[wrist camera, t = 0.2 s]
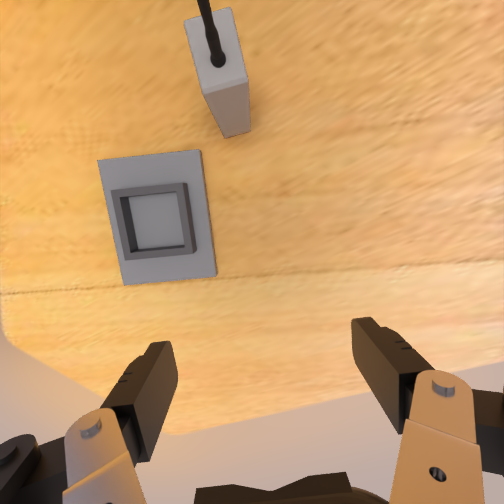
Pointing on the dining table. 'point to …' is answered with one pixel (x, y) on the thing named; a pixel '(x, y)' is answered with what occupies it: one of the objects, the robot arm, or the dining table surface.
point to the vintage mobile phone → (220, 67)
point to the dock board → (159, 216)
